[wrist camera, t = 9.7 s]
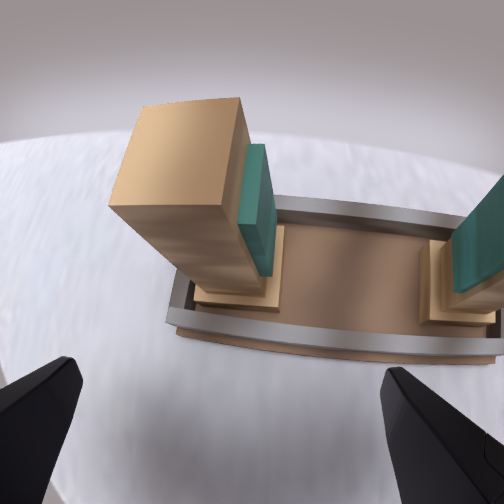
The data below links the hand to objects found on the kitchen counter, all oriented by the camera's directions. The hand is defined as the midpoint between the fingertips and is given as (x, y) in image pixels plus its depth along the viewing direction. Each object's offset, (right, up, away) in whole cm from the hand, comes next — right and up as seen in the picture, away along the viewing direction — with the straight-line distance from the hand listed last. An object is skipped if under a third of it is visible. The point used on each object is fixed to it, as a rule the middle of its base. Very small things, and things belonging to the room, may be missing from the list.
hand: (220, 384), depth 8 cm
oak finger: (0, +2, +13) cm, 13 cm away
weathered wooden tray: (+8, +1, +13) cm, 15 cm away
